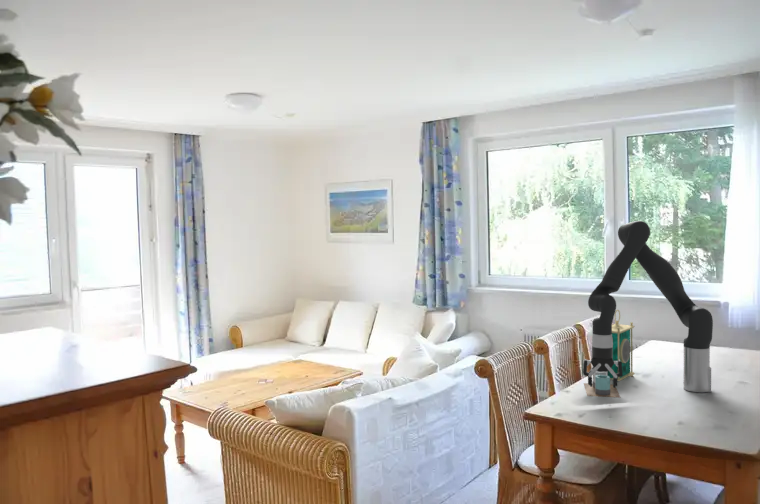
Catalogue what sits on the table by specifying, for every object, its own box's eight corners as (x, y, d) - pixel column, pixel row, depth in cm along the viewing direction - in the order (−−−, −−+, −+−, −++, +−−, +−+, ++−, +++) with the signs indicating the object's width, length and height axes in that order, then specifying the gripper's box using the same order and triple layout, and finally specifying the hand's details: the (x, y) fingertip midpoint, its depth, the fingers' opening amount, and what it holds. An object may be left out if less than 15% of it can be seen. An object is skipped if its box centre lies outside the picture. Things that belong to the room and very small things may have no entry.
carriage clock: (620, 384, 247) (620, 313, 246) (599, 381, 253) (599, 311, 252) (635, 376, 260) (635, 308, 258) (614, 373, 266) (614, 306, 264)
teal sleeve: (609, 391, 233) (609, 375, 233) (610, 395, 228) (610, 378, 227) (594, 390, 234) (594, 374, 234) (595, 394, 229) (595, 378, 229)
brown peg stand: (614, 388, 243) (614, 372, 242) (620, 401, 225) (620, 384, 225) (583, 386, 246) (583, 371, 245) (587, 399, 228) (587, 383, 228)
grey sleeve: (603, 384, 243) (602, 368, 242) (609, 388, 238) (609, 372, 237) (590, 385, 242) (590, 369, 242) (597, 389, 237) (597, 373, 236)
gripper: (620, 343, 232) (620, 384, 233) (582, 342, 236) (582, 383, 236) (623, 347, 225) (623, 390, 226) (583, 346, 228) (583, 388, 229)
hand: (602, 386), depth 231 cm, fingers open, 8 cm apart
